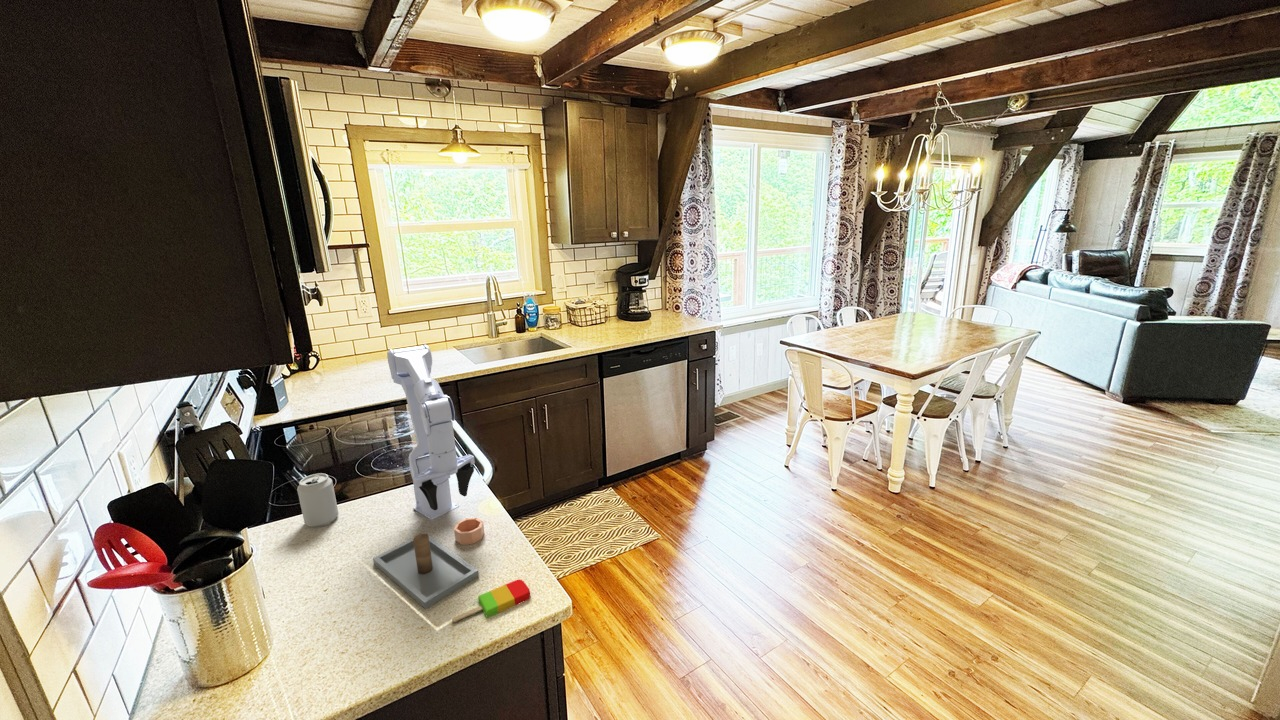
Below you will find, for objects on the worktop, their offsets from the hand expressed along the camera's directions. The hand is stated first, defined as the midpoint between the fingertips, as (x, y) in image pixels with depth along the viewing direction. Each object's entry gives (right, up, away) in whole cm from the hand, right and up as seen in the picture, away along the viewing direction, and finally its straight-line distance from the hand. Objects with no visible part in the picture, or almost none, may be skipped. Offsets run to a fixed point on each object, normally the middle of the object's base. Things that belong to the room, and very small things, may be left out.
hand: (449, 501), depth 119 cm
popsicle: (+16, -16, -20) cm, 30 cm away
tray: (-1, -12, -10) cm, 16 cm away
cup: (+4, -9, +2) cm, 10 cm away
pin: (-1, -12, -10) cm, 16 cm away
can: (-36, -8, +10) cm, 38 cm away
